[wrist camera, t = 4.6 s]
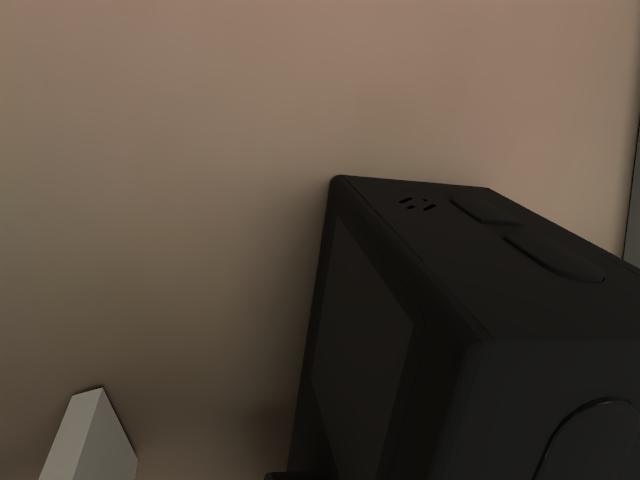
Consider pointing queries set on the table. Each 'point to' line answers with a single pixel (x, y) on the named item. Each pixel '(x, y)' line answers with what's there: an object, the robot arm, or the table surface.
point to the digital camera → (464, 343)
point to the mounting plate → (634, 217)
